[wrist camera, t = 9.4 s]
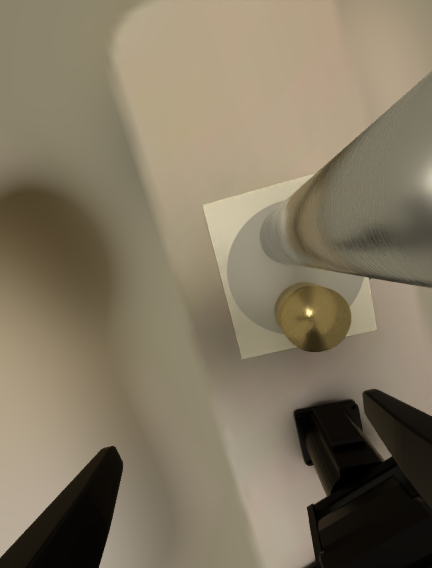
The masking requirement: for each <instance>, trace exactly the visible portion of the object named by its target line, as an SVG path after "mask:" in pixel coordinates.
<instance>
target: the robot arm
mask: <svg viewBox="0 0 432 568" xmlns="http://www.w3.org/2000/svg"><path fill="white" fill-rule="evenodd" d="M363 404H364V411H365V414H366V416H367V418H368V420H369V421H370V423H371V424H372V426H373V427H374V429H375V430H376V432H377V433H378V435H379V437H380V438H381V440H382V441H383V443H384V444H385V446H386V447H387V449H388V450H389V452H390V453H391V455H392V457H390V458H389V459H387V460H385V461H384V459H383V458H382V457H381V455H380V454H379V453H378V451H377V450H376V449H375V448H374V446H373V445H372V444H371V442H370V441H369V440H368V438H367V437H366V436H365V435H364V433H363V430H362V425H361V419H360V413H359V408H358V405H357V404H356V403H355V402H354V401H353V400H349V401H344V402H339V403H334V404H329V405H323V406H318V407H313V408H308V409H302V410H297V411H295V412H294V419H295V423H296V428H297V432H298V437H299V441H300V445H301V450H302V454H303V459H304V461H305V464H306V465H308V466H312V465H314V467H315V469H316V471H317V474H318V476H319V479H320V481H321V483H322V486H323V488H324V491H325V493H326V495H327V497H325V498H324V499H322V500H321V501H319V502H317V503H316V504H311V505H309V506H308V507H307V511H308V517H309V524H310V530H311V536H312V542H313V548H314V553H315V559H316V565H317V568H432V416H430V415H428V414H426V413H424V412H422V411H420V410H418V409H416V408H414V407H412V406H410V405H408V404H406V403H404V402H402V401H400V400H398V399H396V398H394V397H391V396H389V395H387V394H385V393H383V392H381V391H379V390H377V389H371V390H367V391H364V392H363ZM352 405H353V406H352ZM351 406H352V407H351ZM299 415H300V416H299ZM298 416H299V417H298ZM122 471H123V462H122V460H121V457H120V455H119V453H118V451H117V449H116V447H114V446H110V447H106V448H103V449H101V450H100V451H99V452H98V454H97V455H96V456H95V457H94V458H93V459H92V460H91V461H90V462H89V463H88V464H87V465H86V466H85V467H84V469H83V470H82V471H81V472H80V473H79V474H78V475H77V476H76V477H75V478H74V480H73V481H72V482H70V484H69V485H68V486H67V487H66V488H65V489H64V490H63V491H62V492H61V493H60V494H59V495H58V497H57V498H56V499H55V500H54V501H53V502H52V503H51V504H50V505H49V506H48V507H47V508H46V509H45V510H44V512H43V513H42V514H41V515H40V516H39V517H38V518H37V519H36V520H35V521H34V522H33V523H32V524H31V526H30V527H29V528H28V529H27V530H26V531H25V532H24V533H23V534H22V535H21V536H20V537H19V539H17V541H16V542H15V543H14V544H13V545H12V546H11V547H10V548H9V549H8V550H7V551H6V552H5V553H4V554H3V556H2V557H1V558H0V568H99V565H100V562H101V558H102V554H103V551H104V548H105V544H106V541H107V537H108V533H109V530H110V526H111V522H112V518H113V513H114V508H115V504H116V499H117V494H118V490H119V485H120V481H121V476H122Z"/></svg>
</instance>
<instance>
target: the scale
mask: <svg viewBox="0 0 432 568" xmlns="http://www.w3.org/2000/svg"><path fill="white" fill-rule="evenodd" d="M315 174H316V173H314V174H311V175H307V176H304V177H300V178H296V179H293V180H289V181H286V182H282V183H279V184H275V185H272V186H268V187H265V188H261V189H258V190H254V191H250V192H247V193H243V194H240V195H236V196H233V197H229V198H226V199H222V200H219V201H215V202H211V203H208V204H204V205H203V209H204V212H205V216H206V220H207V224H208V228H209V232H210V236H211V240H212V244H213V248H214V252H215V255H216V259H217V263H218V267H219V271H220V275H221V279H222V283H223V287H224V291H225V295H226V299H227V302H228V306H229V310H230V314H231V318H232V322H233V326H234V330H235V334H236V338H237V342H238V345H239V349H240V353H241V357H242V359H246V358H250V357H255V356H260V355H264V354H269V353H274V352H278V351H283V350H287V349H292V348H297V347H296V346H295V345H293V344H292V343H291V342H290V341H289V339H288V338H287V337H286V335H285V334H284V333H283V331H282V330H281V329H280V327H279V326H278V324H277V322H276V319H275V315H274V308H275V303H276V301H277V299H278V297H279V295H280V294H281V293H282V292H283V291H284V290H285V289H286V288H288V287H289V286H291V285H293V284H296V283H301V282H310V283H314V284H317V285H320V286H323V287H326V288H329V289H332V290H334V291H336V292H338V293H339V294H340V295H341V296H342V297H344V299H345V300H346V301H347V303H348V305H349V307H350V310H351V325H350V328H349V331H348V333H347V335H346V336H345V337H348V336H352V335H357V334H361V333H366V332H371V331H375V330H377V327H376V321H375V315H374V308H373V302H372V296H371V289H370V283H369V279H371V278H368V277H362V276H356V275H350V274H345V273H339V272H333V271H327V270H321V269H315V268H309V267H303V266H297V265H291V264H285V263H280V262H277V261H274V260H272V259H271V258H270V257H269V256H267V255H266V253H265V252H264V250H263V249H262V246H261V243H260V230H261V226H262V224H263V222H264V220H265V219H266V218H267V216H268V215H269V214H270V213H272V212H273V211H274V210H275V209H276V208H277V207H278V206H280V205H281V204H282V203H283V202H284V201H285V200H286V199H287V198H289V197H290V196H291V195H292V194H293V193H294V192H295V191H297V190H298V189H299V188H300V187H301V186H302V185H303V184H304V183H306V182H307V181H308V180H309V179H310V178H311V177H312V176H314V175H315Z"/></svg>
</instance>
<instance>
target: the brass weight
mask: <svg viewBox="0 0 432 568" xmlns="http://www.w3.org/2000/svg"><path fill="white" fill-rule="evenodd" d="M274 315H275V319H276V322H277V324H278V326H279V327H280V329H281V330H282V331H283V333H284V334H285V335H286V337H287V338H288V339H289V341H290V342H291V343H292V344H293V345H295V346H296V347H298V348H300V349H302V350H305V351H309V352H321V351H325V350H328V349H331V348H333V347H335V346H336V345H337V344H339V343H340V342H341V341H342V340H343V339H344V338H345V336H346V335H347V333H348V331H349V328H350V325H351V310H350V307H349V305H348V303H347V301H346V300H345V299H344V297H342V296H341V295H340V294H339V293H338V292H336V291H334V290H332V289H329V288H326V287H323V286H320V285H317V284H314V283H310V282H301V283H296V284H293V285H291V286H289V287H288V288H286V289H285V290H284V291H283V292H282V293H281V294H280V295H279V297H278V299H277V301H276V303H275V308H274Z"/></svg>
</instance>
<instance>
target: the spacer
mask: <svg viewBox="0 0 432 568" xmlns="http://www.w3.org/2000/svg"><path fill="white" fill-rule="evenodd" d="M260 243H261V246H262V249H263V250H264V252H265V253H266V255H267V256H269V257H270V258H271V259H272V260H274V261H277V262H280V263H285V264H291V265H297V266H303V267H309V268H315V269H321V270H327V271H333V272H339V273H345V274H350V275H356V276H362V277H368V278H374V279H380V280H386V281H392V282H398V283H404V284H410V285H416V286H422V287H428V288H432V72H430V73H429V74H428V75H427V76H426V77H425V78H423V79H422V80H421V81H420V82H419V83H418V84H417V85H416V86H415V87H413V88H412V89H411V90H410V91H409V92H408V93H407V94H405V95H404V96H403V97H402V98H401V99H400V100H399V101H397V102H396V103H395V104H394V105H393V106H392V107H391V108H390V109H388V110H387V111H386V112H385V113H384V114H383V115H382V116H380V117H379V118H378V119H377V120H376V121H375V122H374V123H372V124H371V125H370V126H369V127H368V128H367V129H366V130H365V131H363V132H362V133H361V134H360V135H359V136H358V137H357V138H355V139H354V140H353V141H352V142H351V143H350V144H349V145H348V146H346V147H345V148H344V149H343V150H342V151H341V152H340V153H338V154H337V155H336V156H335V157H334V158H333V159H332V160H331V161H329V162H328V163H327V164H326V165H325V166H324V167H323V168H321V169H320V170H319V171H318V172H317V173H316V174H315V175H314V176H312V177H311V178H310V179H309V180H308V181H307V182H306V183H304V184H303V185H302V186H301V187H300V188H299V189H298V190H297V191H295V192H294V193H293V194H292V195H291V196H290V197H289V198H287V199H286V200H285V201H284V202H283V203H282V204H281V205H280V206H278V207H277V208H276V209H275V210H274V211H273V212H272V213H270V214H269V215H268V216H267V218H266V219H265V220H264V222H263V224H262V226H261V230H260Z"/></svg>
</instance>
